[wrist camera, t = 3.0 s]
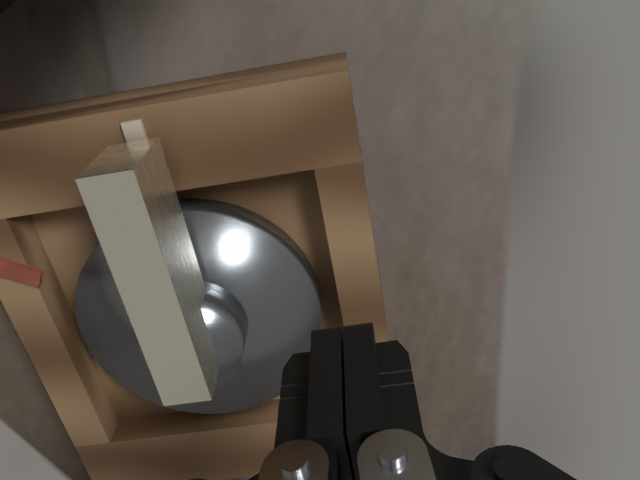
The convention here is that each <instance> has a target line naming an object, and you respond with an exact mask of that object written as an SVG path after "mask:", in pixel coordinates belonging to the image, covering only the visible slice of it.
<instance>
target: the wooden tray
mask: <svg viewBox="0 0 640 480" xmlns="http://www.w3.org/2000/svg"><path fill="white" fill-rule="evenodd" d="M156 137H159V139H160V143H161V146H162V149H163V152H164V155H165V159H166V162H167V165H168V168H169V172H170V175H171V178H172V181H173V184H174V188H175V191H176V194H177V197H178V199H183V198H204V199H211V200H218V201H223V202H227V203H231V204H235V205H238V206H241V207H243V208H246V209H248V210H251V211H253V212H255V213H257V214H259V215H261V216H263V217H264V218H266V219H268V220H270V221H271V222H272V223H274V224H275V225H277V226H278V227H279V228H281V229H282V230H283V231H284V232H285V233H286V234H288V235H289V236H290V237H291V238H292V239H293V240H294V241H295V242H296V244H297V245H298V246H299V247H300V248H301V249H302V251H303V252H304V254H305V255H306V257H307V258H308V260H309V261H310V263H311V265H312V267H313V269H314V272H315V274H316V276H317V279H318V283H319V286H320V291H321V299H322V326H321V329H326V328H334V327H341V328H342V331H343V326H348V325H356V324H363V323H371V322H373V327H374V333H375V340H376V343H379V342H387V341H389V338H388V331H387V325H386V318H385V311H384V305H383V298H382V291H381V285H380V278H379V271H378V265H377V258H376V251H375V245H374V238H373V231H372V225H371V218H370V211H369V205H368V198H367V191H366V185H365V178H364V171H363V165H362V158H361V151H360V145H359V138H358V131H357V125H356V118H355V111H354V105H353V98H352V91H351V85H350V78H349V71H348V65H347V58H346V52H345V53H339V54H333V55H328V56H322V57H316V58H311V59H305V60H299V61H294V62H288V63H282V64H277V65H271V66H265V67H260V68H254V69H248V70H243V71H237V72H231V73H226V74H220V75H214V76H209V77H203V78H197V79H192V80H186V81H180V82H175V83H169V84H163V85H158V86H152V87H146V88H141V89H135V90H130V91H124V92H118V93H113V94H107V95H101V96H96V97H90V98H84V99H79V100H73V101H67V102H62V103H56V104H50V105H45V106H39V107H33V108H28V109H22V110H16V111H11V112H5V113H0V300H1V302H2V304H3V306H4V308H5V310H6V312H7V313H8V315H9V317H10V319H11V321H12V323H13V325H14V327H15V329H16V331H17V333H18V335H19V337H20V339H21V341H22V343H23V345H24V347H25V349H26V351H27V353H28V355H29V357H30V359H31V361H32V363H33V365H34V367H35V369H36V371H37V373H38V375H39V377H40V379H41V381H42V383H43V385H44V387H45V389H46V391H47V393H48V395H49V397H50V399H51V401H52V403H53V405H54V407H55V409H56V411H57V413H58V415H59V417H60V419H61V421H62V422H63V424H64V426H65V428H66V430H67V432H68V434H69V436H70V438H71V440H72V442H73V444H74V446H75V448H76V450H77V452H78V454H79V456H80V458H81V460H82V462H83V464H84V466H85V468H86V470H87V472H88V474H89V476H90V478H91V480H189V479H197V478H201V479H207V480H224V479H233V478H241V477H250V476H255V475H257V474H258V473H259V472H260V468H261V465H262V463H263V461H264V459H265V457H266V456H267V455H268V454H269V453H270V452H271V451H272V450H273V449H274V445H275V436H276V427H277V417H278V408H279V401H280V395H279V396H277V397H276V398H274V399H272V400H270V401H268V402H266V403H264V404H261V405H259V406H256V407H253V408H250V409H246V410H243V411H237V412H231V413H221V414H199V413H191V412H184V411H179V410H175V409H170V408H167V407H164V406H161V405H158V404H155V403H153V402H151V401H148V400H146V399H144V398H142V397H140V396H138V395H136V394H134V393H133V392H131V391H129V390H128V389H126V388H125V387H124V386H122V385H121V384H119V383H118V382H117V381H116V380H114V379H113V378H112V377H111V376H110V375H109V374H108V373H107V372H106V371H105V370H104V369H103V368H102V367H101V366H100V365H99V364H98V363H97V361H96V360H95V358H94V357H93V356H92V354H91V353H90V351H89V350H88V348H87V346H86V344H85V342H84V340H83V338H82V335H81V333H80V330H79V327H78V323H77V318H76V313H75V293H76V285H77V282H78V279H79V275H80V272H81V270H82V268H83V266H84V264H85V262H86V260H87V259H88V257H89V256H90V255H91V253H92V252H93V250H94V249H95V248H96V246H97V245H98V243H99V240H98V237H97V234H96V232H95V229H94V227H93V224H92V222H91V219H90V217H89V214H88V211H87V209H86V206H85V204H84V201H83V199H82V196H81V194H80V191H79V189H78V186H77V183H76V181H75V179H76V178H77V177H78V176H79V175H80V174H81V173H82V172H83V170H84V169H85V168H86V167H87V166H88V165H89V164H90V163H91V162H92V161H93V160H94V159H95V158H96V157H97V156H98V155H99V154H100V153H101V152H102V151H103V150H104V149H105V148H106V147H107V146H109V145H114V144H120V143H126V142H132V141H138V140H144V139H150V138H156Z"/></svg>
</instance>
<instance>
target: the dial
mask: <svg viewBox="0 0 640 480" xmlns="http://www.w3.org/2000/svg"><path fill="white" fill-rule="evenodd" d="M75 181H76V183H77V186H78V189H79V191H80V194H81V196H82V199H83V201H84V204H85V206H86V209H87V211H88V214H89V217H90V219H91V222H92V224H93V227H94V229H95V232H96V234H97V237H98V240H99V243H98V245H97V246H96V248H95V249H94V250H93V252H92V253H91V255H90V256H89V257H88V259H87V260H86V262H85V264H84V266H83V268H82V270H81V272H80V275H79V279H78V282H77V285H76V293H75V313H76V318H77V323H78V327H79V330H80V333H81V335H82V338H83V340H84V342H85V344H86V346H87V348H88V350H89V351H90V353H91V354H92V356H93V357H94V358H95V360H96V361H97V363H98V364H99V365H100V366H101V367H102V368H103V369H104V370H105V371H106V372H107V373H108V374H109V375H110V376H111V377H112V378H113V379H114V380H116V381H117V382H118V383H119V384H121V385H122V386H124V387H125V388H126V389H128V390H129V391H131V392H133V393H134V394H136V395H138V396H140V397H142V398H144V399H146V400H148V401H151V402H153V403H155V404H158V405H161V406H164V407H167V408H170V409H175V410H179V411H184V412H191V413H199V414H221V413H231V412H237V411H243V410H246V409H250V408H253V407H256V406H259V405H261V404H264V403H266V402H268V401H270V400H272V399H274V398H276V397H277V396H279V395H280V390H281V381H282V371H283V368H284V366H285V365H286V363H287V362H288V360H289V359H290V357H291V356H292V354H295V353H303V352H310V347H311V331H312V330H319V329H321V326H322V299H321V291H320V286H319V283H318V279H317V276H316V274H315V272H314V269H313V267H312V265H311V263H310V261H309V260H308V258H307V257H306V255H305V254H304V252H303V251H302V249H301V248H300V247H299V246H298V245H297V244H296V242H295V241H294V240H293V239H292V238H291V237H290V236H289V235H288V234H286V233H285V232H284V231H283V230H282V229H281V228H279V227H278V226H277V225H275V224H274V223H272V222H271V221H270V220H268V219H266V218H264V217H263V216H261V215H259V214H257V213H255V212H253V211H251V210H248V209H246V208H243V207H241V206H238V205H235V204H231V203H227V202H223V201H218V200H211V199H204V198H183V199H178V197H177V194H176V191H175V188H174V184H173V181H172V178H171V175H170V172H169V168H168V165H167V162H166V159H165V155H164V152H163V149H162V146H161V143H160V139H159V137H156V138H150V139H144V140H138V141H132V142H126V143H120V144H114V145H109V146H107V147H106V148H105V149H104V150H103V151H102V152H101V153H100V154H99V155H98V156H97V157H96V158H95V159H94V160H93V161H92V162H91V163H90V164H89V165H88V166H87V167H86V168H85V169H84V170H83V172H82V173H81V174H80V175H79V176H78V177H77V178H76V179H75Z"/></svg>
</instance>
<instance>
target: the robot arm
mask: <svg viewBox="0 0 640 480" xmlns="http://www.w3.org/2000/svg"><path fill="white" fill-rule="evenodd" d="M189 480H207V479H201V478H197V479H189ZM249 480H576V479H575V478H573V477H571V476H570V475H568V474H567V473H565V472H563V471H562V470H560V469H558V468H557V467H555V466H554V465H552V464H551V463H549V462H547V461H546V460H544V459H542V458H541V457H539V456H538V455H536V454H534V453H533V452H531V451H529V450H527V449H524V448H521V447H517V446H510V445H501V446H495V447H492V448H489V449H487V450H485V451H483V452H482V453H480V454H479V455H478V456H477V457H476V459H475V460H474V461H471V460H465V459H459V458H454V457H451V456H448V455H445V454H443V453H441V452H439V451H438V450H436V449H435V448H434V447H433V446H431V445H430V443H429V442H428V441H427V440H426V438H425V436H424V433H423V429H422V423H421V418H420V413H419V407H418V402H417V397H416V391H415V386H414V380H413V375H412V370H411V364H410V359H409V354H408V352H407V351H406V350H405V348H404V347H403V346H402V345H401V344H400V343H399V342H398V341H397V340H395V341H387V342H379V343H376V340H375V333H374V327H373V322H371V323H363V324H356V325H348V326H343V331H342V328H341V327H334V328H326V329H319V330H312V331H311V347H310V352H303V353H295V354H292V356H291V357H290V359H289V360H288V362H287V363H286V365H285V366H284V368H283V371H282V381H281V390H280V401H279V408H278V417H277V427H276V436H275V445H274V449H273V450H272V451H271V452H270V453H269V454H268V455H267V456H266V457H265V459H264V461H263V463H262V465H261V468H260V472H259V473H258V474H257V475H255V476H254V477H252V478H251V479H249Z"/></svg>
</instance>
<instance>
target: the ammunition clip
mask: <svg viewBox="0 0 640 480" xmlns="http://www.w3.org/2000/svg"><path fill="white" fill-rule="evenodd" d="M15 1H16V0H0V13H2V12H3V11H4V10H5V9H7V8H8V7H9V6H10V5H11V4H13V3H14V2H15Z"/></svg>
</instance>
